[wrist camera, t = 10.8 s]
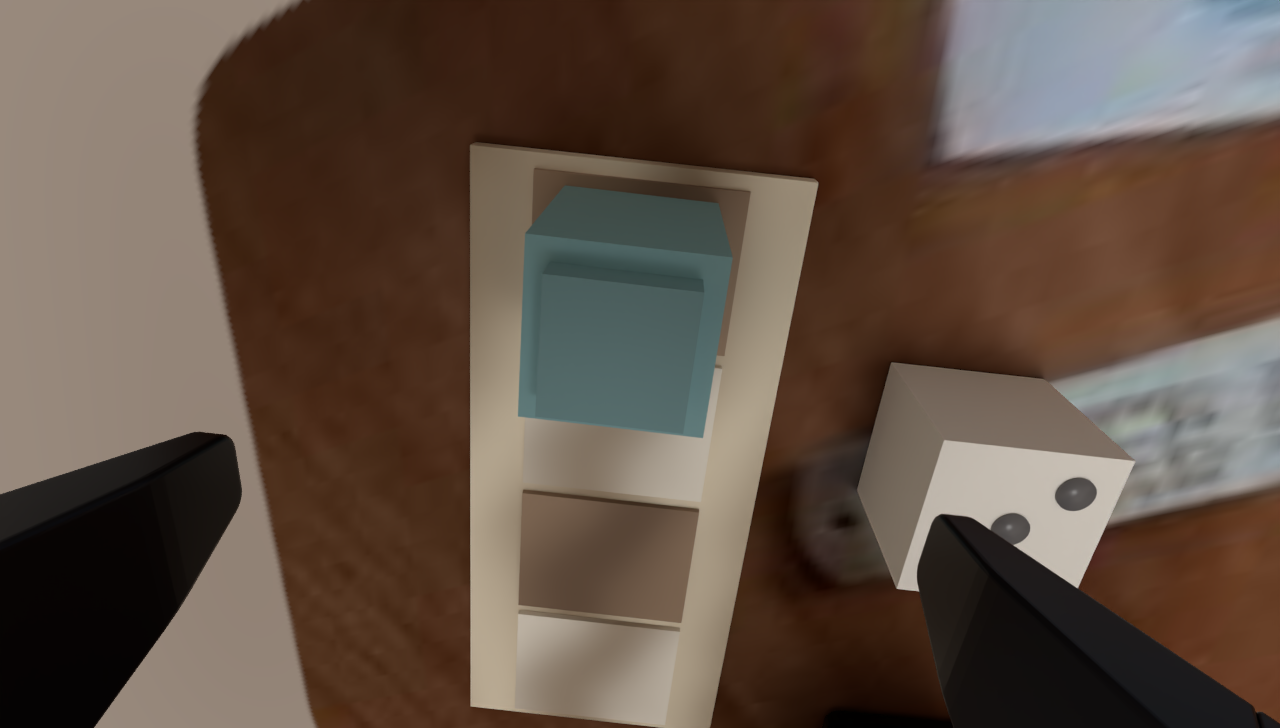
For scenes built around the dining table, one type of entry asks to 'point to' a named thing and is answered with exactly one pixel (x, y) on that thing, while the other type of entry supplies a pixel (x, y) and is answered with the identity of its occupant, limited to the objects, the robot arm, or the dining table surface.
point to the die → (988, 467)
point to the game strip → (617, 464)
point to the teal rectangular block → (622, 311)
